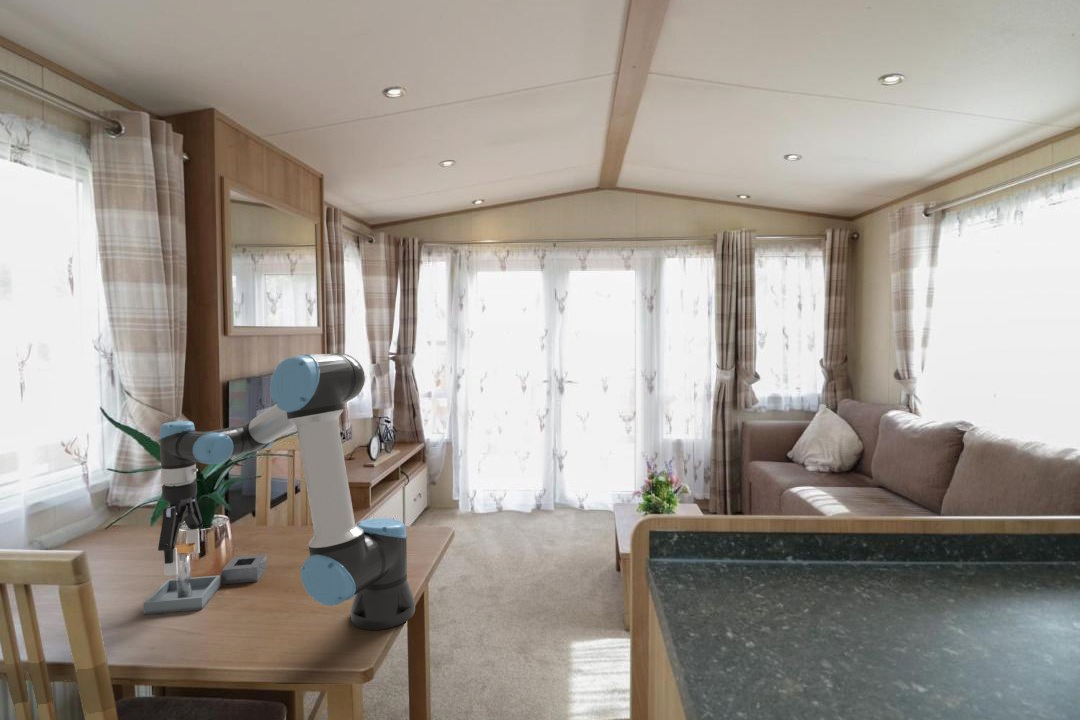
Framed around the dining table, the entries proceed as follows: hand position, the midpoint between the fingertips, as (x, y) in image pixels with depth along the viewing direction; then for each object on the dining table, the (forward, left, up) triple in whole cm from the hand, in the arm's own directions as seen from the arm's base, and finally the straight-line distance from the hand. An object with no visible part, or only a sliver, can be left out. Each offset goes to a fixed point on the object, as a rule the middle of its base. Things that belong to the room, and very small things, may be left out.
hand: (183, 563), depth 145 cm
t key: (0, 0, -9) cm, 9 cm away
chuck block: (+12, -11, -9) cm, 19 cm away
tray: (0, 0, -9) cm, 9 cm away
